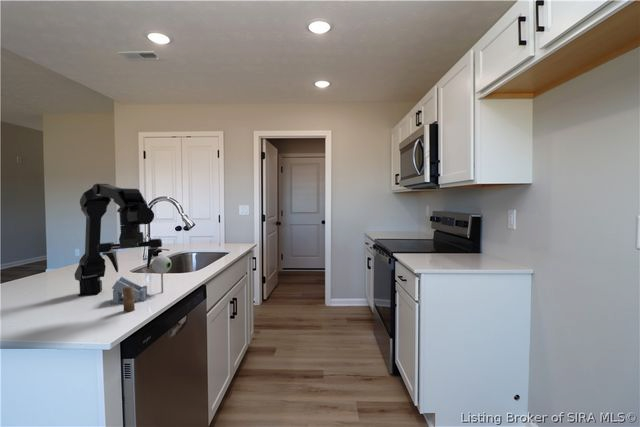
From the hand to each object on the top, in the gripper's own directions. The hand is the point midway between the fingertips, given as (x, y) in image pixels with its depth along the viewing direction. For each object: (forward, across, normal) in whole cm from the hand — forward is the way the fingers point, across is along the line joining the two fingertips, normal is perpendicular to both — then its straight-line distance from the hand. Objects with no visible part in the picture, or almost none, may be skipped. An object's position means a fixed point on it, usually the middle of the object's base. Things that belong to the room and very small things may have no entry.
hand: (133, 270), depth 110 cm
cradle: (+13, -4, +13) cm, 19 cm away
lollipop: (+13, +8, +18) cm, 24 cm away
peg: (+14, -2, 0) cm, 14 cm away
